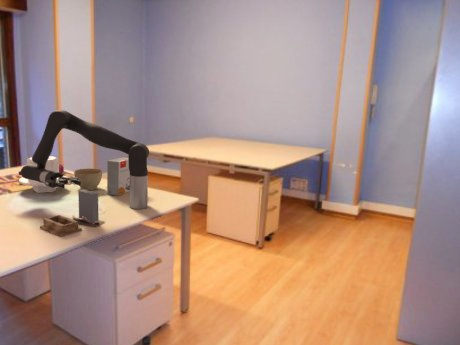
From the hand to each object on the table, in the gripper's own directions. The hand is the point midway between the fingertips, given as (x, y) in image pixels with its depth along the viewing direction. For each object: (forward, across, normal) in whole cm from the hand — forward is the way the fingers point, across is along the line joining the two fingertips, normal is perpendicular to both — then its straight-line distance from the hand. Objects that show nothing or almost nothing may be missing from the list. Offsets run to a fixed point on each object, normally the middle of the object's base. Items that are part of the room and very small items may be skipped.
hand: (72, 184), depth 181 cm
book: (-78, +33, +17) cm, 87 cm away
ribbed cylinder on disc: (-51, +17, +16) cm, 56 cm away
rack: (+12, -14, +15) cm, 24 cm away
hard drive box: (-17, +44, +15) cm, 50 cm away
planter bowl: (-36, +37, +16) cm, 54 cm away
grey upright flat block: (+12, 0, +15) cm, 19 cm away
